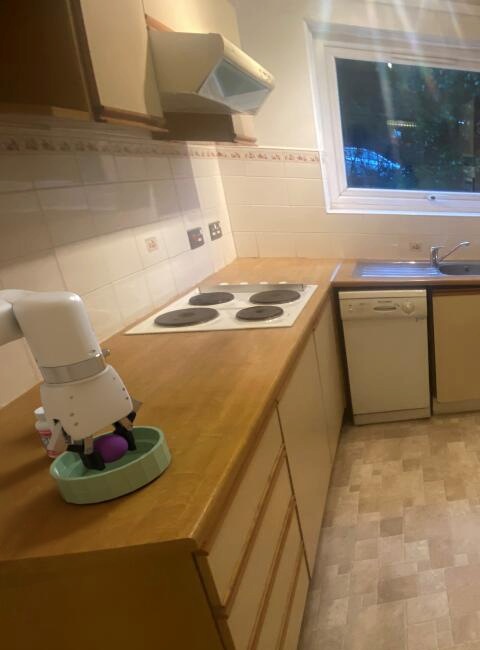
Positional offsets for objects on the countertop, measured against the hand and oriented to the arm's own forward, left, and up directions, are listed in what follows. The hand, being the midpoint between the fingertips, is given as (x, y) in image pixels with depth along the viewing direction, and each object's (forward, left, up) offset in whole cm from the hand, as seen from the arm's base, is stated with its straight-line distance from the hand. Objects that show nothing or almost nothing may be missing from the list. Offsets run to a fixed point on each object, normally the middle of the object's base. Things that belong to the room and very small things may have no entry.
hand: (112, 457), depth 77 cm
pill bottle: (-17, +4, -4) cm, 18 cm away
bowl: (0, 0, -4) cm, 4 cm away
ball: (0, 0, +2) cm, 2 cm away
